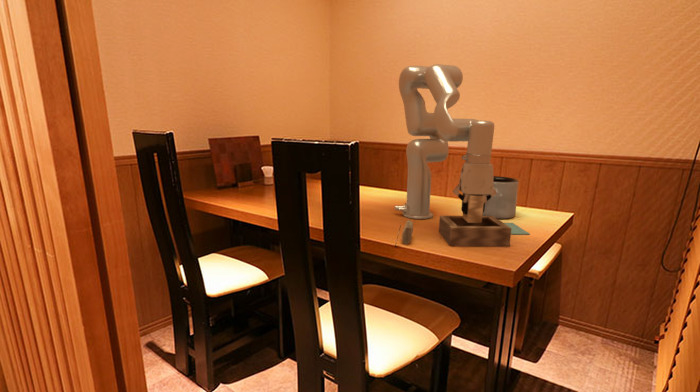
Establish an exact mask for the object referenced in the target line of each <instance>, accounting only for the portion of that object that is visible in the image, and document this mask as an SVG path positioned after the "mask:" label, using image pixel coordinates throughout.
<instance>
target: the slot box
mask: <svg viewBox="0 0 700 392" xmlns="http://www.w3.org/2000/svg"><path fill="white" fill-rule="evenodd" d="M462 216H463V215H443V214H442V215H439V223H438V233H439V234H440V236H441V237H442V238H443V239H444V240H445V242H446V243H447V244H448V246H450V247H485V248H486V247H487V248H488V247H495V248H496V247H498V248H499V247H500V248H501V247H502V248H503V247H505V248H507V247H508V248H509V247H510V245H511V237H512V236H511V229H512V228H510V227H509V226H507V225H506V224H504V223H505V222H503V221H502V220H501V219H497V218H496V217H494V216H482V222H481V223H468V222H467V221H466V220H465V219H464V218H463V217H462Z"/></svg>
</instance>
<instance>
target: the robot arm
mask: <svg viewBox="0 0 700 392" xmlns="http://www.w3.org/2000/svg"><path fill="white" fill-rule="evenodd" d="M463 79H464V78H463V72H462V70H461V68H460V67H458V66H456V65H450V64H437V63H436V64H432V65H430V66H424V65H410V66H406V67H404V68H403V69H402V70H401V72H400V75H399V79H398V89H399V94H400V97H401V100H402V103H403V110H404V117H405V122H406V123H405V124H406V129H407V133H408V134H409V136H412V137H428V138H416V139H412V140H411V141H409V142H408V144H407V145H406V148H405V153H406V154H405V155H406V159H407V160H406V161H407V162H406V163H407V180H406V181H407V184H406V202H404V204H402V205H394V210H395V211H399V212H402V213H401V214H402V216H403V217H405V218H408V219H413V220H427V219H431V218H433V217H434V213H433V212H432V211H430V208H431V207H430V205H431V191H432V190H431V188H432V171H431V169H430V167H429V165H428V163H440V162H443V161H445V160H446V159H447V158H448V157H449V152H450V151H449V150H450V148H449V142H450V143H451V142H452V143H453V142H457V143H458V142H467V148H466V153H465V155H461V160H464V161H465V162H463V164H462V167H461V172H460V177H459V180H458V181H459V183H458V184H457V185H456V186H455V188H454V189H453V190H452V193H453V194H454V195H455V196H456V197H458V199H460V200H461V208H460V209H461V212H462V214H463V213H464V214H467V210H468V203H467V200H468V197H469V195H483V196H485V197H484V205H483V212H484V209H485V203H487V201H488V200H489V199H490V198H491V197H493V196H494V195H496V194H497V192H496V190H495V189H494V187H493V176H494V164H492V163H491V159H492V152H493V151H492V150H493V142H494V141H493V140H494V135H495V133H494V132H495V123H494V122H493V121H491V120H479V119H476V118H475V119H474V118H453V117H452V115H450V112H449V110H448V109H450V108H452V107H453V106H455V105H456V104H457V102H458V101H459V100H460V96H461V95H460V94H461V93H460V91H459V89H458V88H459V87H460V86H461V85H462V83H463ZM418 89H422V90H423V89H424V90H429V91H430V94H431V95H432V97H433V100H434V102H435V103H436V105H435V107H434V110H433V112H428V111H427V108H426V101H425V98H424V97H423V96H422V94H421V93H420V91H418ZM460 192H461V193H462V194H461V193H460ZM482 215H483V214H482Z"/></svg>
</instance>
